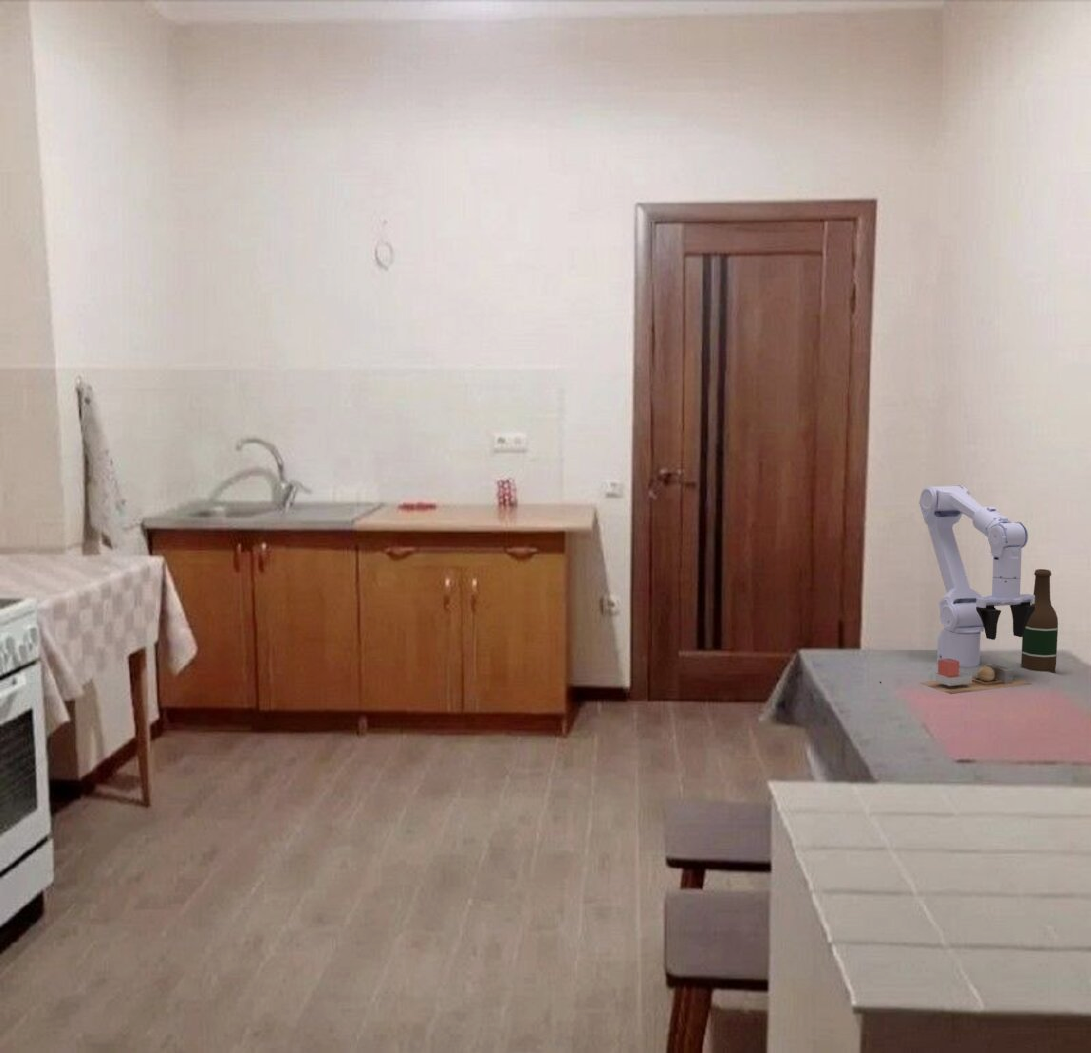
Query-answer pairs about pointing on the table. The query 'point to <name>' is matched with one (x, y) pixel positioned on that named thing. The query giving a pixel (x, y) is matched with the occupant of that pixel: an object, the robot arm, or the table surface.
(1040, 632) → the beer bottle
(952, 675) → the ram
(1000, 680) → the wooden puzzle board
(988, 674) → the walnut
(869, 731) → the table surface
